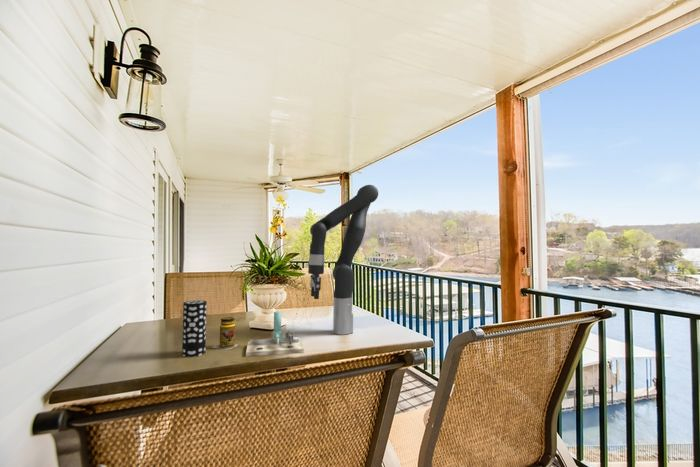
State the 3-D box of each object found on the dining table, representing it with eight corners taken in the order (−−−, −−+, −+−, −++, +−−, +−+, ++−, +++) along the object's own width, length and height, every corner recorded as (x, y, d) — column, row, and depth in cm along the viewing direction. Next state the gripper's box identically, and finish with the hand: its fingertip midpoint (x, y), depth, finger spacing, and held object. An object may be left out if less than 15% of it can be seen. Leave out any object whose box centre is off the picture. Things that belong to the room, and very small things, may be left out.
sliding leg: (280, 338, 145) (281, 311, 145) (281, 345, 136) (282, 315, 136) (273, 339, 144) (273, 311, 145) (274, 345, 135) (274, 315, 135)
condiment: (228, 350, 137) (229, 320, 137) (211, 348, 140) (211, 318, 140) (239, 345, 144) (240, 316, 144) (222, 343, 146) (223, 315, 147)
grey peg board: (300, 342, 148) (300, 328, 148) (303, 352, 135) (303, 337, 135) (247, 345, 143) (248, 331, 143) (245, 356, 129) (246, 340, 130)
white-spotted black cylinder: (190, 358, 127) (191, 304, 127) (177, 354, 131) (178, 302, 132) (209, 352, 134) (211, 301, 134) (197, 349, 138) (198, 299, 139)
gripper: (327, 265, 158) (325, 300, 157) (321, 263, 171) (319, 295, 171) (311, 264, 156) (309, 300, 155) (306, 262, 169) (304, 295, 168)
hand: (314, 297), depth 163 cm, fingers open, 8 cm apart
